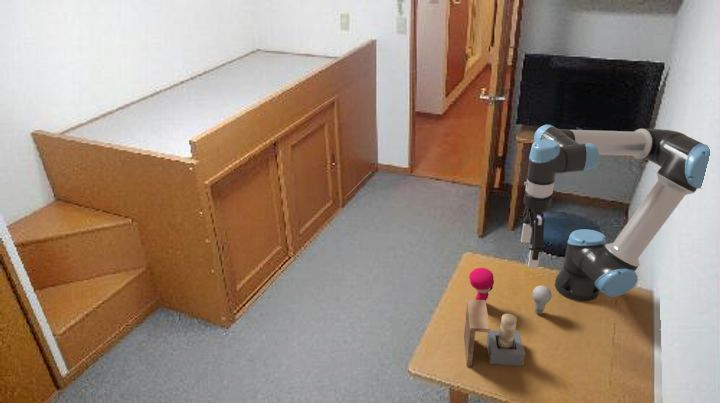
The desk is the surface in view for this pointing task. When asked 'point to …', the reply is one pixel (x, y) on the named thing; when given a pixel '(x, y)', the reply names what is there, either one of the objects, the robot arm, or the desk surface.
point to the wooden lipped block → (474, 325)
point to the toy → (482, 282)
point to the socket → (505, 350)
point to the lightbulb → (541, 298)
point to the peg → (507, 331)
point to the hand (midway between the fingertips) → (528, 254)
